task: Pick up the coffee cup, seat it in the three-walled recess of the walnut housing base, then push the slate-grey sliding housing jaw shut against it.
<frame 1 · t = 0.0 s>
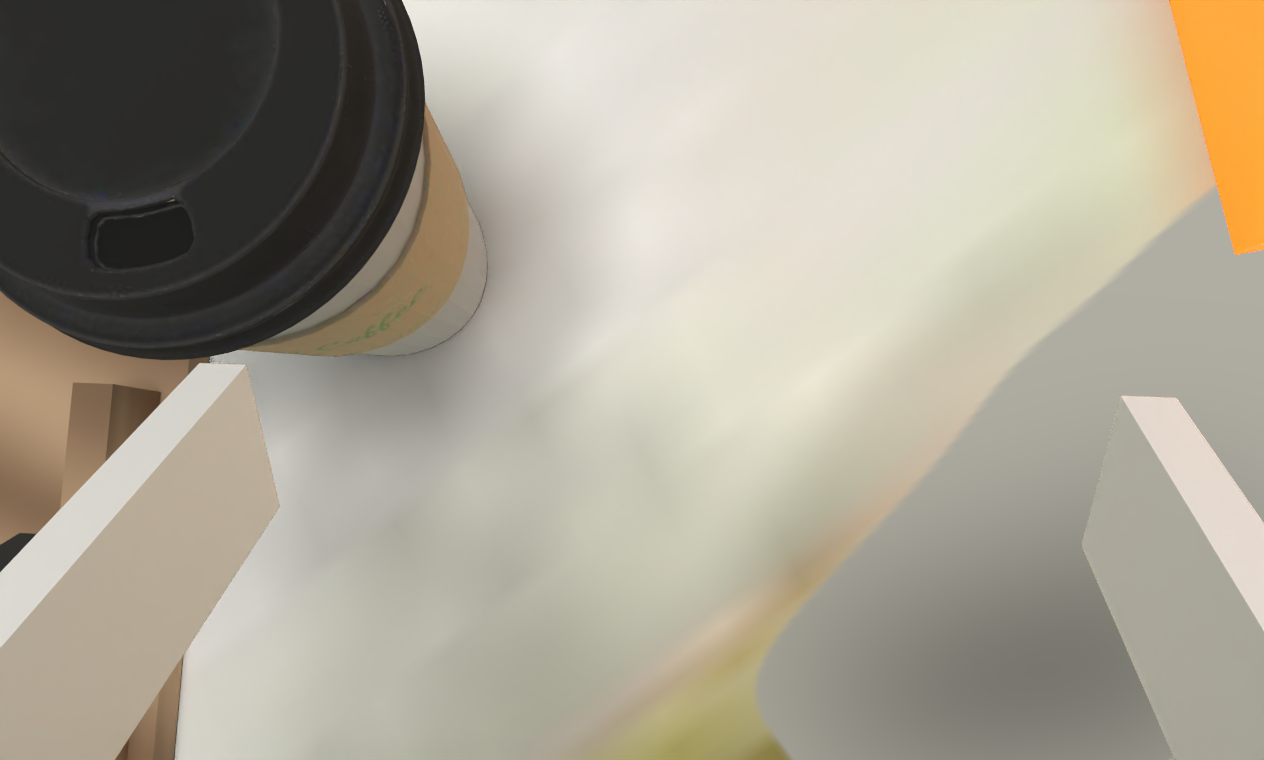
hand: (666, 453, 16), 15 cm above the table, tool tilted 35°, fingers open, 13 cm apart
coffee cup: (400, 264, 33), on the table
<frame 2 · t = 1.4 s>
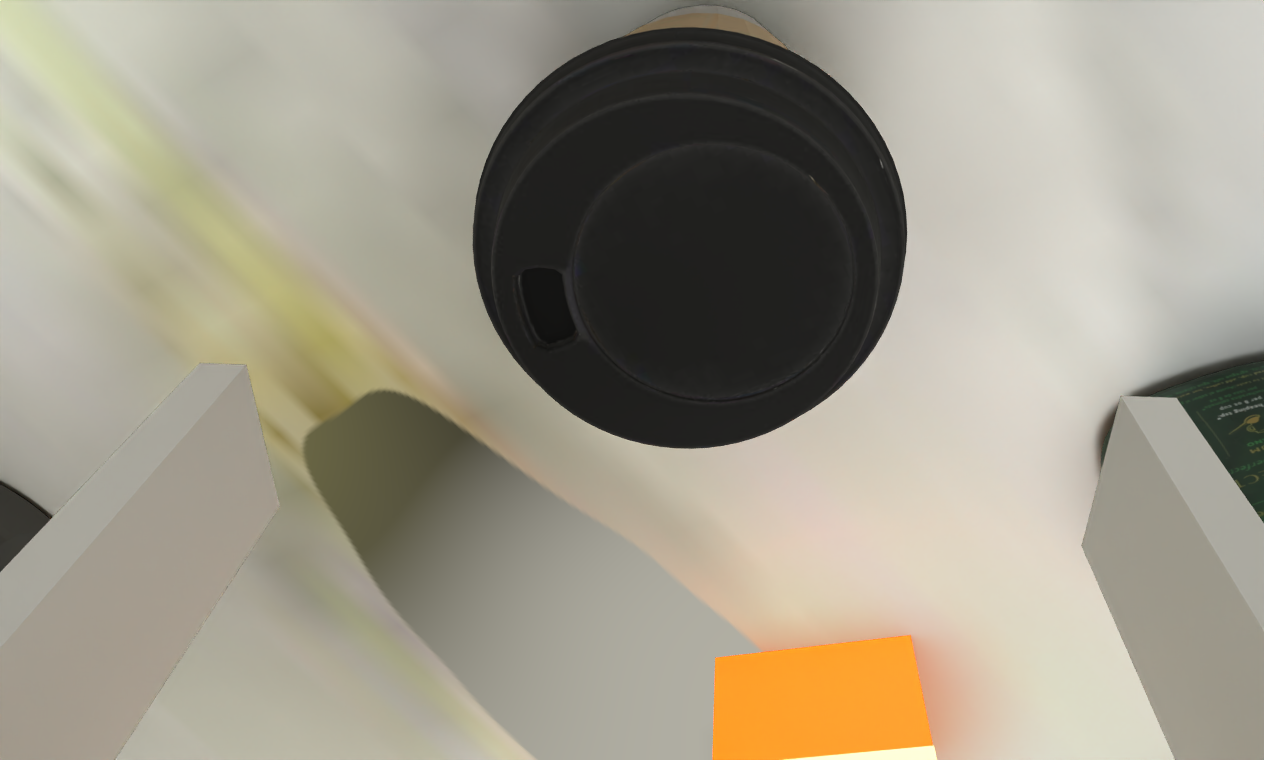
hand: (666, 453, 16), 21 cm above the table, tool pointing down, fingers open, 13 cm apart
coffee cup: (704, 94, 34), on the table
coffee jar: (1229, 443, 38), on the table
orange juice: (824, 702, 47), on the table
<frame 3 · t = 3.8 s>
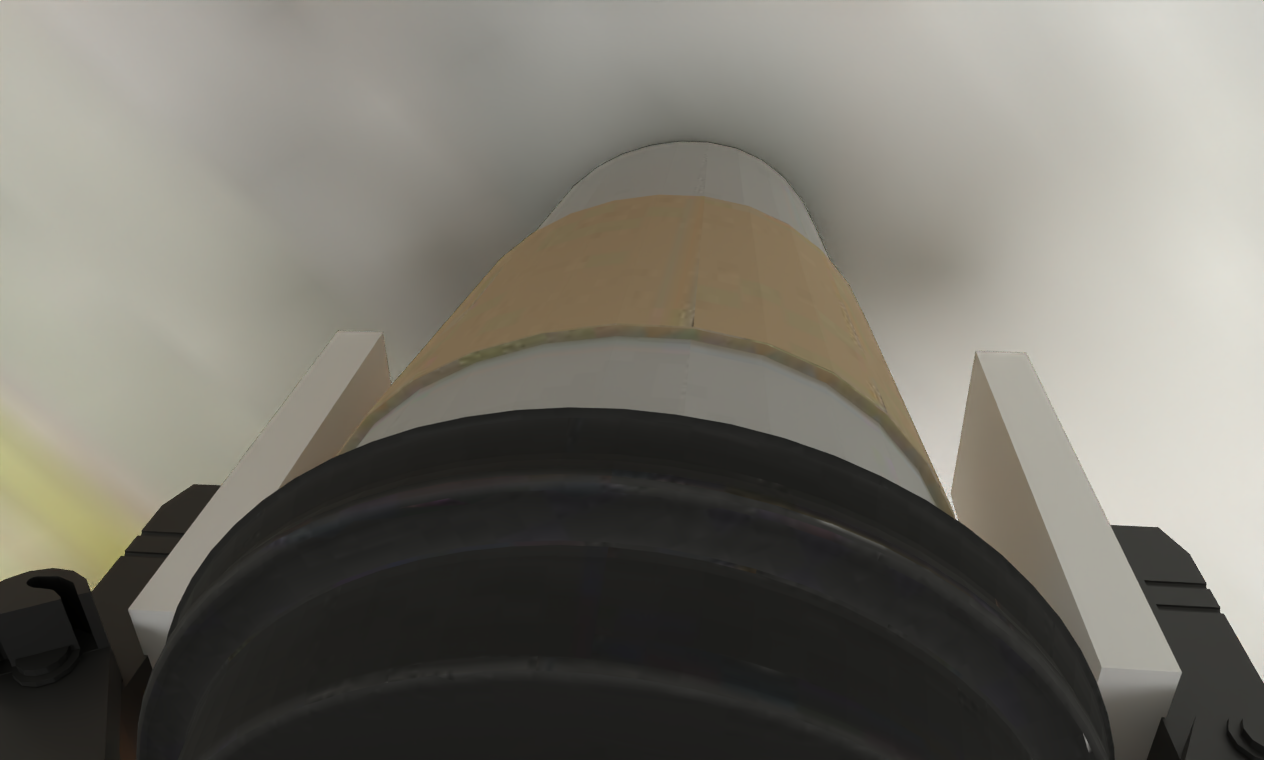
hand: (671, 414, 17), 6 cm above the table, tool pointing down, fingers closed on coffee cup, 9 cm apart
coffee cup: (688, 270, 22), on the table, touching gripper
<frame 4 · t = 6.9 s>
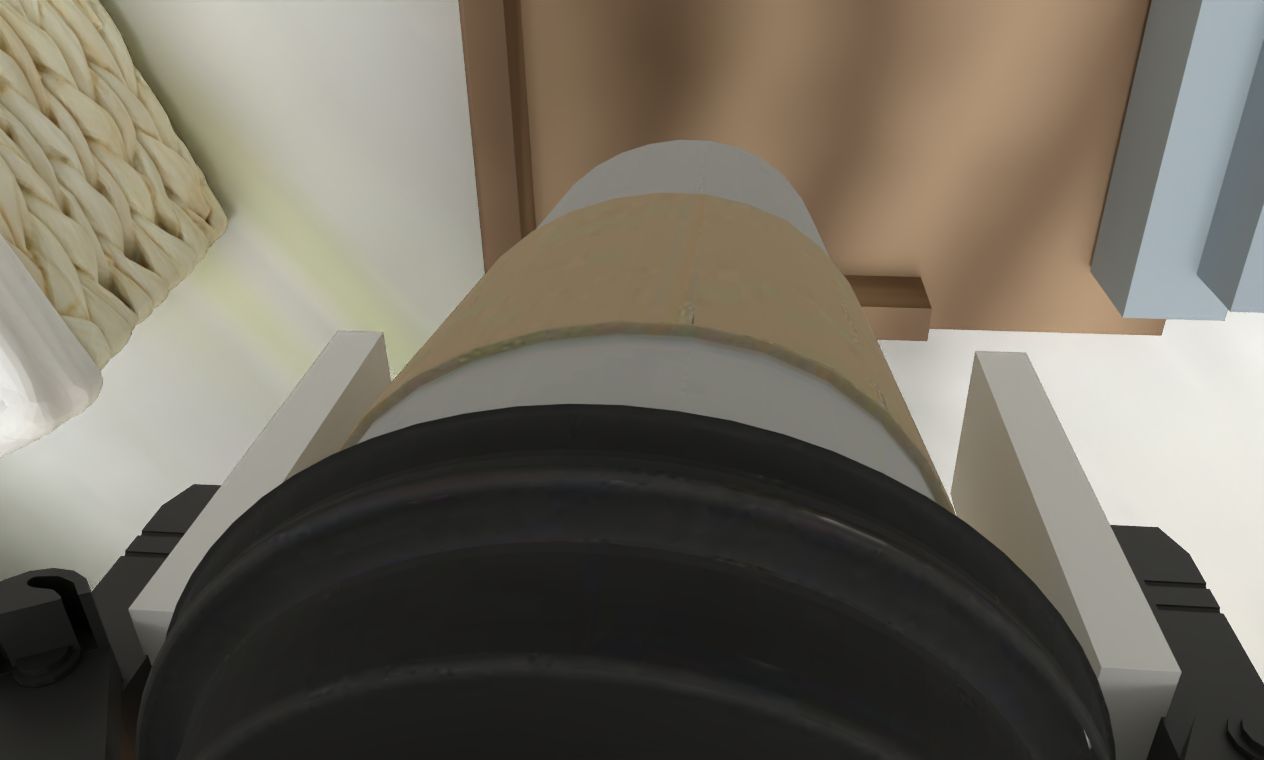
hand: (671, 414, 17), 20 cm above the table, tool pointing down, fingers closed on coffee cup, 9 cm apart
housing base: (830, 94, 34), on the table
coffee cup: (688, 268, 22), point 15 cm above the table, touching gripper
housing jaw: (1215, 138, 29), point 4 cm above the table, slide at 0.0 cm
when the fingers open (7 cm above the table, at t = 10.1 s): coffee cup stays where it is, resting on housing base.
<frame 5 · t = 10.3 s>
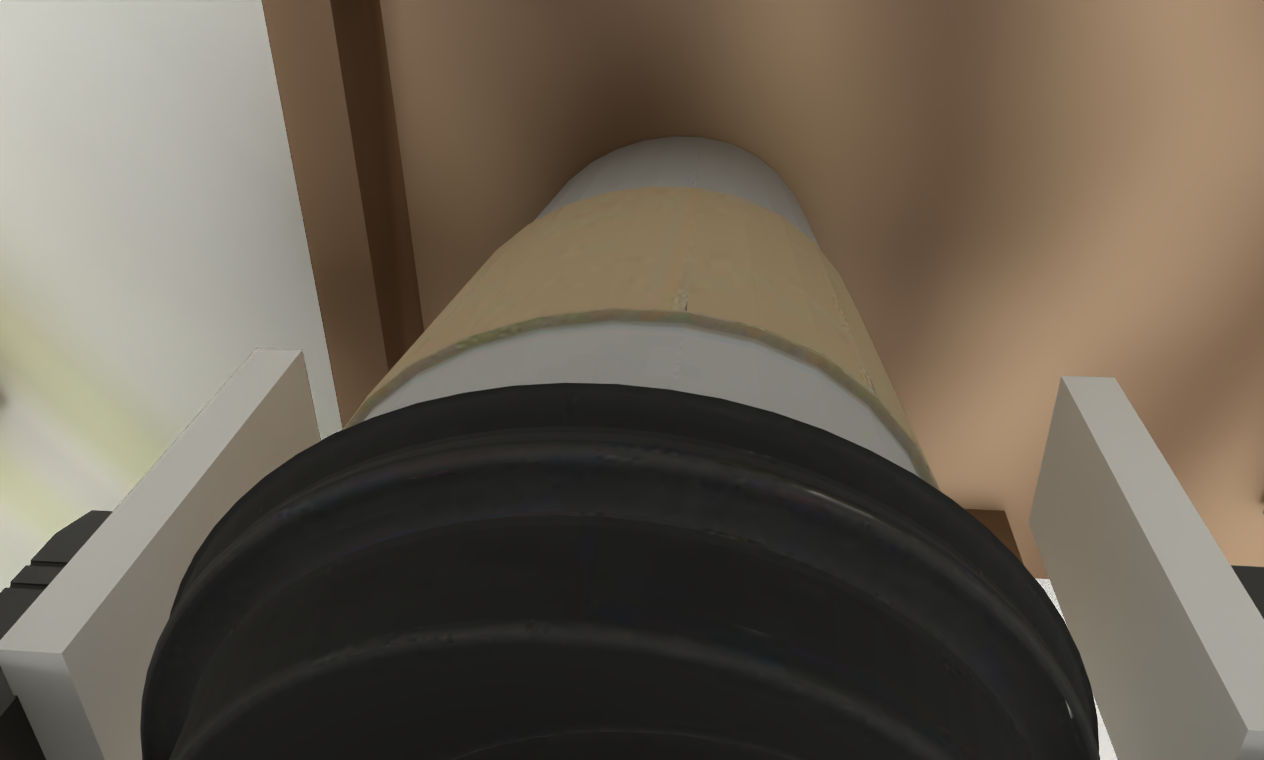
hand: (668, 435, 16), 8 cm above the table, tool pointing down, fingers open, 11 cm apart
housing base: (874, 250, 22), on the table
coffee cup: (682, 264, 22), point 1 cm above the table, touching housing base
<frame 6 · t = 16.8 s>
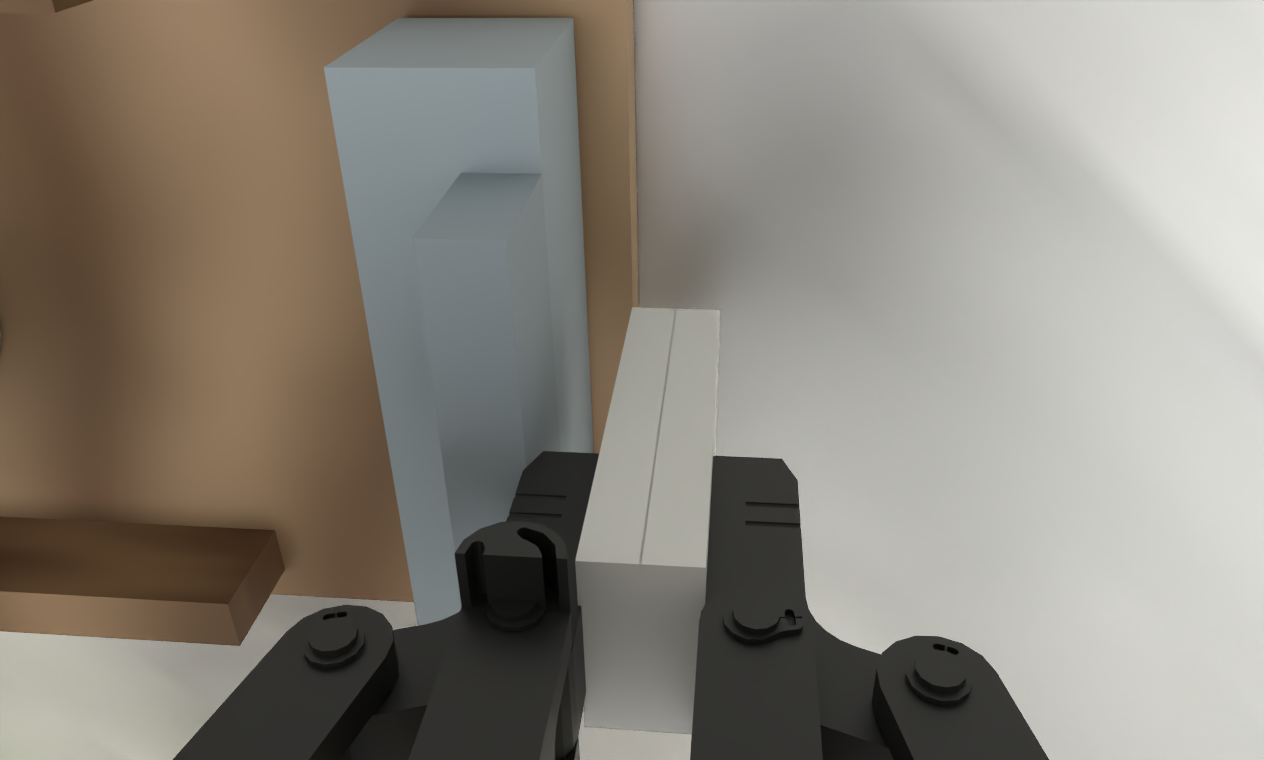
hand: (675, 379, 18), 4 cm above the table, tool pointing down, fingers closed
housing base: (88, 269, 22), on the table
housing jaw: (475, 390, 17), point 4 cm above the table, slide at 0.9 cm, touching gripper
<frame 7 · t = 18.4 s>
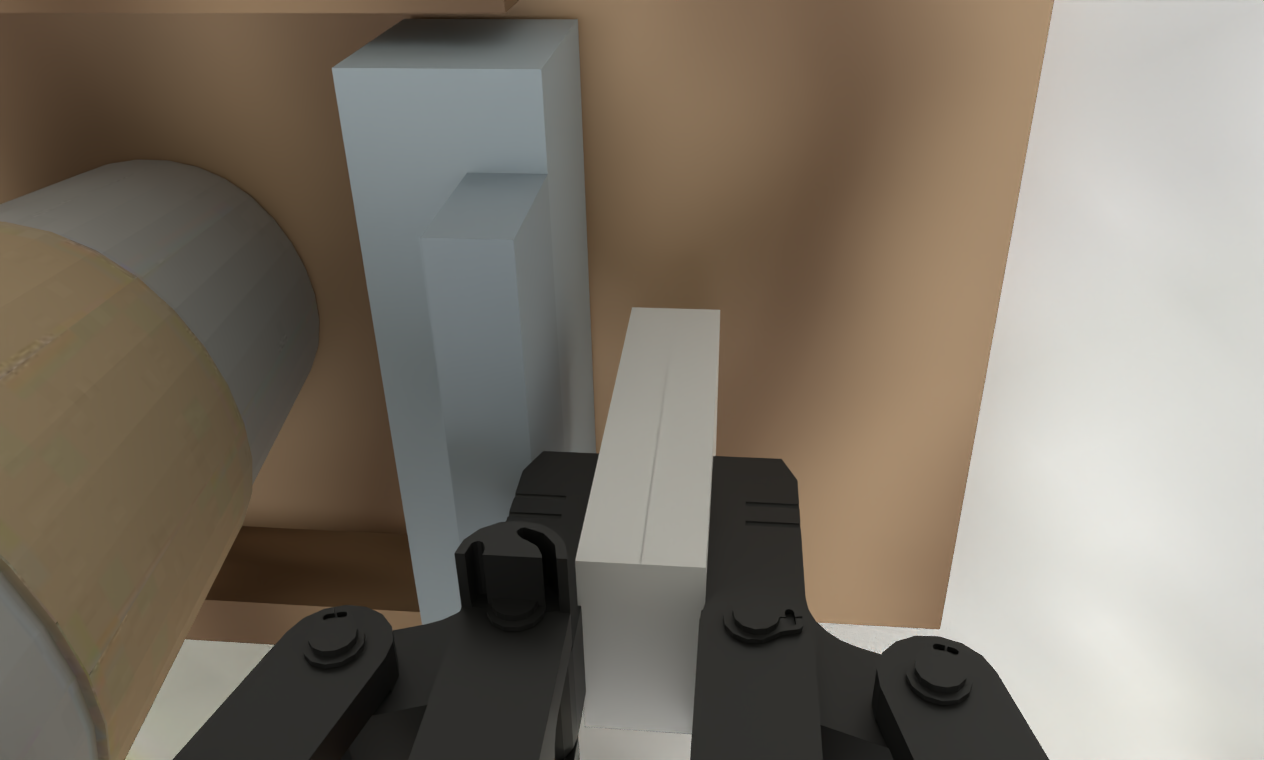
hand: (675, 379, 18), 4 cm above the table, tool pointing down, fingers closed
housing base: (401, 275, 22), on the table
coffee cup: (191, 290, 21), point 1 cm above the table, touching housing base
housing jaw: (479, 388, 17), point 4 cm above the table, slide at 7.8 cm, touching gripper
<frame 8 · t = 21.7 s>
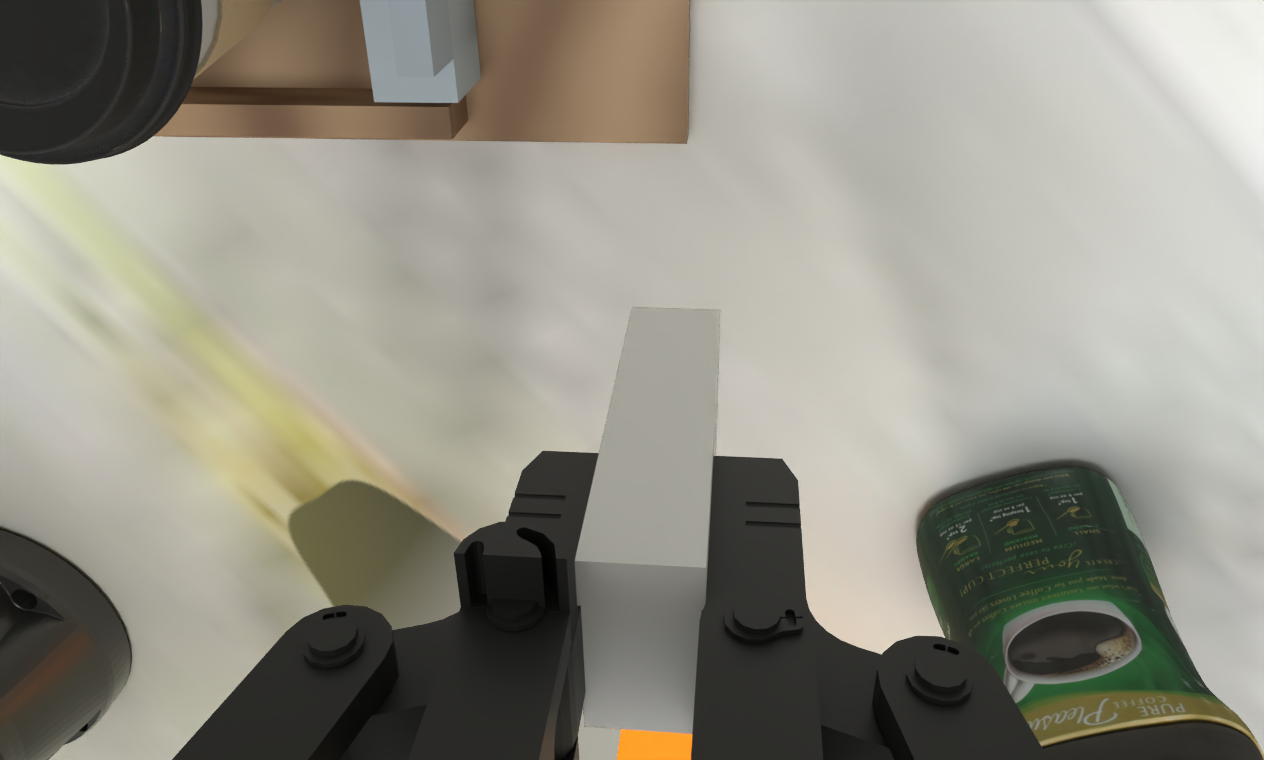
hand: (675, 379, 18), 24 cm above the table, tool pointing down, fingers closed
coffee jar: (1020, 530, 48), on the table
orange juice: (717, 729, 57), on the table
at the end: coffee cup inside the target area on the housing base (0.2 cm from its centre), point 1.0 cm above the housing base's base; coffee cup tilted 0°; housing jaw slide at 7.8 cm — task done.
